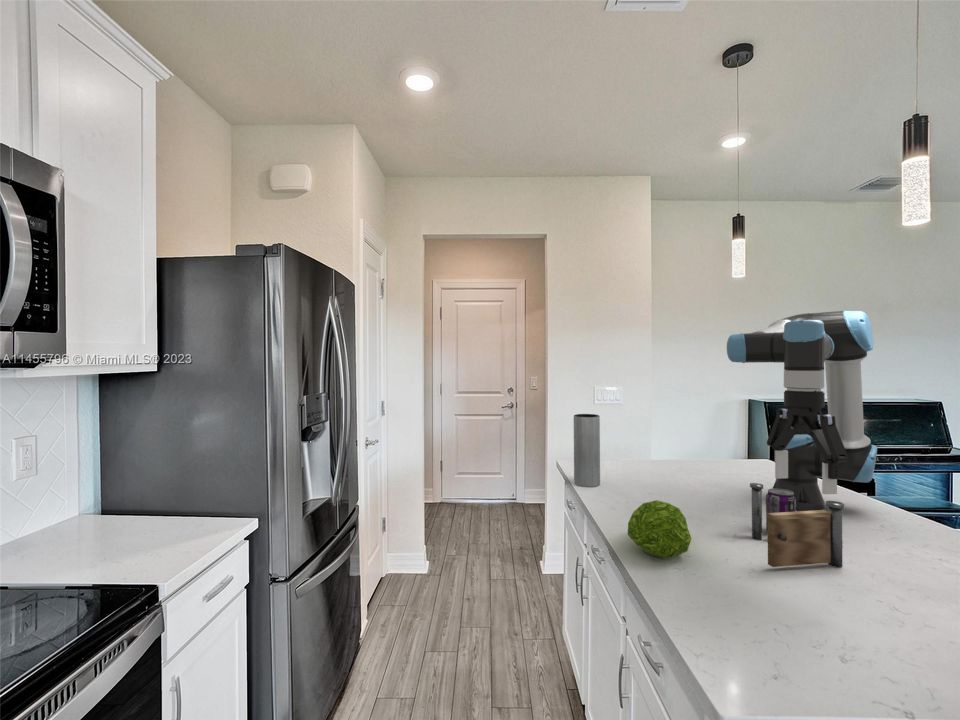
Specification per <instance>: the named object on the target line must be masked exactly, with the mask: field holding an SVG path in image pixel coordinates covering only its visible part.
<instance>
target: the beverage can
mask: <svg viewBox="0 0 960 720" xmlns="http://www.w3.org/2000/svg"><path fill="white" fill-rule="evenodd" d="M765 508H766V509H765V517H766V518H765V526H766V527H765V530H766V532H768V518H767V513H780V512H797V510H796V499H795V497H794V492H792V491H789V490H785V489H777V488H773V487H772V488H769V489H767V493H766V494H765Z"/></svg>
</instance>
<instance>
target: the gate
mask: <svg viewBox="0 0 960 720" xmlns="http://www.w3.org/2000/svg"><path fill="white" fill-rule="evenodd" d="M830 517H831V512H829V511H828V510H826V509H823V510H814V511H798V510H796V512H780V513H767V518H768V531H767V565H768V566H770V567H771V568H780V567H791V566H803V565H804V566H806V565H819V564H828V563H831V554H830Z"/></svg>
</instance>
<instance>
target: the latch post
mask: <svg viewBox="0 0 960 720" xmlns="http://www.w3.org/2000/svg"><path fill="white" fill-rule="evenodd" d="M749 488H751V539H753V540H755V541H756V540H757V541H762V540H763V515H762V513H763V507H762V506H763V497H762V495H763V494H762V493H763V492H762V491H763V489H764V484H762V483H757V482H751V483H749Z"/></svg>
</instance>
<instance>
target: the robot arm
mask: <svg viewBox="0 0 960 720" xmlns="http://www.w3.org/2000/svg"><path fill="white" fill-rule="evenodd" d="M873 349H874V335H873V329H872V325H871V321H870V318H869V317H868V314H867V313H865V312H864V311H862V310H838V311H826V312H825V311H824V312H812V313H809V312H807V313H800V314H795V315H791V316H786V317H785V318H781V319H778V320H775V321H773V322H772V323H770V324H769V325H768V326H767V327H765V328H763V329H760V330H756V331H754V332H750V333H748V332H747V333H743V332H741V333H733V334H730V335H729V337H728V339H727V341H726V355H727V357H728V360H730V362H732V363H742V364H746V363H750V364H751V363H753V364H754V363H777V364H778V363H783V387H784V388H785V389H786V390H784V391H783V406H785V407H787V408H777V409H776V413H775V419H774V422H773V425H772V426H771V431H770V432H769V435H768V438H767V440H766V444H767V446H769V447H770V446H771V448H772V450H773V457H774V459H773V461H774V464H775V465H774V466H775V467H774V469H775V471H774V474H775V475H774V477H775V481H774V483H773V484H774V485H773V487H772V488H777V489H785V490H789V491H792V492H794V497H795V499H796V511H814V510H825V500H824V497H823V495H837V494H838V480H841V481H849V482H852V483H855V482H856V483H870V482H871V481H872V480H873V477H874V474H875V473H874V471H875V467H876V463H877V462H876V460H877V454H878V446H877V445H874V444H871V443H872V441H871V439H870V437H869V436H867V435H865V429H864V428H865V425H864V405H863V401H864V400H863V386H862V385H863V382H862V361H863V360H864V359H866V358H867V357H868V352H870V351H872V350H873ZM825 383H826V385H825ZM825 386H826V392H824V391H823V390H822V389H824V388H825ZM825 393H826V394H825ZM825 395H826V397H825ZM826 398H827V399H826ZM826 400H827V414H822V409H823V408H824V407H825V406H826V405H825V401H826ZM798 432H802V433H806V434H797V433H798ZM818 477H819V478H822V479H821V480H822V481H821V490H820V486H819V485H818V483H819V482H818Z"/></svg>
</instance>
